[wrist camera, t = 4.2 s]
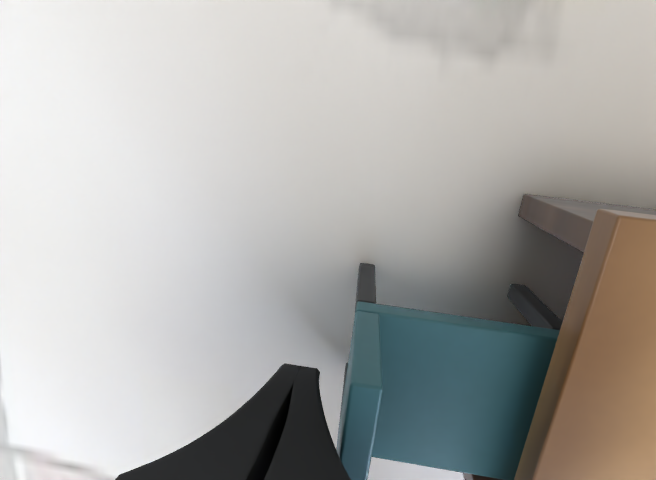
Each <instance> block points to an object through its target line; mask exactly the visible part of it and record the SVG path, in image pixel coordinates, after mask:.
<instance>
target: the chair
mask: <svg viewBox="0 0 656 480" xmlns="http://www.w3.org/2000/svg"><path fill="white" fill-rule="evenodd" d="M508 298H509V299H510V301H511V302H512V303H513V304H514V305H515V307H516V308H517V309H518V310H519V311H520V313H521V314H522V315H523V316H524V317H525V318H526V320H527V321H528V322H529V323H530V324H531V326H527V325H520V324H513V323H506V322H499V321H492V320H485V319H478V318H471V317H464V316H457V315H450V314H444V313H437V312H430V311H423V310H416V309H409V308H402V307H395V306H388V305H381V304H376V286H375V265H372V264H364V263H360V266H359V274H358V284H357V296H356V307H355V318H354V325H353V332H352V339H351V347H350V354H349V361H348V363H346V368H345V375H344V385H343V394H342V403H341V412H340V422H339V431H338V440H337V450H336V451H337V453H338V455H339V457H340V460H341V462H342V464H343V466H344V468H345V470H346V472H347V473H348V475H349V477H350V479H351V480H367V479H368V473H369V467H370V461H371V457H376V458H382V459H388V460H393V461H399V462H405V463H411V464H416V465H422V466H428V467H434V468H439V469H445V470H451V471H457V472H463V473H468V474H474V475H480V476H486V477H491V478H497V479H503V480H514V478H515V475H516V471H517V468H518V465H519V462H520V458H521V455H522V452H523V449H524V445H525V442H526V439H527V436H528V432H529V429H530V426H531V423H532V419H533V416H534V413H535V410H536V406H537V403H538V400H539V397H540V393H541V390H542V387H543V384H544V380H545V377H546V374H547V371H548V367H549V364H550V361H551V358H552V354H553V351H554V348H555V345H556V341H557V338H558V335H559V332H560V328H561V325H562V321H561V320H560V319H559V318H558V317H557V316H556V315H555V314H554V313H553V312H552V311H551V310H550V309H549V308H548V307H547V306H546V305H545V304H544V303H543V302H542V301H541V300H540V299H539V298H538V297H537V296H536V295H535V294H534V293H533V292H531V291H530V290H529V289H528V288H527V287H526V286H525V285H518V284H511V285H510V289H509V292H508Z"/></svg>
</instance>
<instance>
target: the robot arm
mask: <svg viewBox="0 0 656 480" xmlns="http://www.w3.org/2000/svg"><path fill="white" fill-rule="evenodd" d="M319 375H320V372H319V370H318V369H317V368H310V367H304V366H297V365H291V364H283V365H282V366H281V367H280V368H279V369H278V370H277V372H276V373H275V374H274V375H273V376H272V377H271V378H270V380H269V381H268V382H267V383H266V384H265V385H264V386H263V387H262V388H261V389H260V390H259V391H258V392H257V393H256V394H255V395H254V396H253V397H252V398H251V399H250V400H249V401H247V402H246V403H245V404H244V405H243V406H242V407H241V408H239V409H238V410H237V411H236V412H235V413H234V414H232V415H231V416H230V417H229V418H227V419H226V420H225V421H223V422H222V423H221V424H219V425H218V426H216V427H215V428H214V429H212V430H211V431H209V432H208V433H206V434H204V435H203V436H201V437H200V438H198V439H196V440H195V441H193V442H191V443H190V444H188V445H186V446H184V447H182V448H180V449H178V450H177V451H175V452H173V453H171V454H168V455H166V456H164V457H162V458H160V459H158V460H156V461H153V462H151V463H148V464H146V465H143V466H141V467H138V468H136V469H133V470H131V471H128V472H126V473H123V474H120V475H119V476H118V477H117V478H116V479H115V480H351V479H350V477H349V475H348V473H347V472H346V470H345V468H344V466H343V464H342V462H341V460H340V457H339V455H338V453H337V451H336V448H335V446H334V443H333V441H332V438H331V435H330V432H329V429H328V426H327V423H326V419H325V415H324V412H323V407H322V402H321V397H320V390H319Z"/></svg>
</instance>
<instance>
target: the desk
mask: <svg viewBox="0 0 656 480" xmlns="http://www.w3.org/2000/svg"><path fill="white" fill-rule="evenodd" d="M518 216H519V217H521V218H522V219H524V220H526V221H528V222H530V223H531V224H533V225H535V226H537V227H538V228H540V229H542V230H544V231H546V232H547V233H549V234H551V235H553V236H554V237H556V238H558V239H560V240H562V241H563V242H565V243H567V244H569V245H571V246H572V247H574V248H576V249H578V250H579V251H581V252H583V253H584V254H583V257H582V260H581V263H580V267H579V270H578V273H577V276H576V280H575V283H574V286H573V289H572V293H571V296H570V299H569V302H568V306H567V309H566V312H565V315H564V319H563V322H562V325H561V328H560V332H559V335H558V338H557V341H556V345H555V348H554V351H553V354H552V358H551V361H550V364H549V367H548V371H547V374H546V377H545V380H544V384H543V387H542V390H541V393H540V397H539V400H538V403H537V406H536V410H535V413H534V416H533V419H532V423H531V426H530V429H529V432H528V436H527V439H526V442H525V445H524V449H523V452H522V455H521V458H520V462H519V465H518V468H517V471H516V475H515V478H514V480H656V210H654V209H646V208H637V207H629V206H621V205H612V204H604V203H596V202H587V201H579V200H571V199H562V198H554V197H546V196H537V195H529V194H524V195H523V199H522V203H521V207H520V211H519V215H518ZM463 475H464V479H465V480H503V479H497V478H491V477H486V476H480V475H474V474H468V473H463Z"/></svg>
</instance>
